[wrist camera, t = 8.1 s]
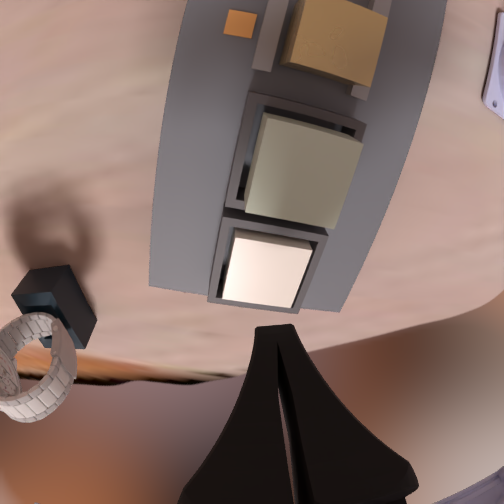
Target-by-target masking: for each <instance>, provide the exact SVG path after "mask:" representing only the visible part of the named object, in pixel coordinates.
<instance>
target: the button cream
mask: <svg viewBox="0 0 504 504" xmlns="http://www.w3.org/2000/svg"><path fill="white" fill-rule="evenodd" d="M311 253H312V248H311V246H310V243H309V240H305V239H300V238H294V237H289V236H283V235H278V234H272V233H266V232H261V231H255V230H249V229H243V228H237V227H234V229H233V233H232V238H231V243H230V247H229V252H228V257H227V262H226V266H225V271H224V276H223V292H222V299H226V300H233V301H240V302H247V303H255V304H262V305H270V306H278V307H286V308H291V306H292V303H293V301H294V298H295V295H296V293H297V290H298V288H299V285H300V283H301V280H302V277H303V275H304V272H305V269H306V267H307V264H308V261H309V259H310V256H311Z"/></svg>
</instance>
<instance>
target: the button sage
mask: <svg viewBox="0 0 504 504" xmlns="http://www.w3.org/2000/svg"><path fill="white" fill-rule="evenodd" d="M363 145H364V144H363V143H361V142H359V141H358V140H356V139H354V138H353V137H351V136H350V135H348V134H345V133H341V132H338V131H335V130H331V129H328V128H324V127H321V126H317V125H314V124H310V123H306V122H302V121H298V120H295V119H290V118H286V117H282V116H278V115H274V114H269V113H265V112H263V116H262V120H261V124H260V128H259V132H258V137H257V141H256V145H255V149H254V154H253V158H252V162H251V167H250V171H249V175H248V180H247V184H246V188H245V193H244V201H245V212H246V213H251V214H257V215H262V216H268V217H273V218H279V219H284V220H289V221H294V222H299V223H305V224H310V225H315V226H320V227H325V228H330V229H335V226H336V223H337V220H338V218H339V215H340V212H341V210H342V207H343V204H344V201H345V198H346V196H347V193H348V190H349V187H350V184H351V181H352V178H353V175H354V172H355V169H356V166H357V163H358V160H359V157H360V154H361V151H362V148H363Z"/></svg>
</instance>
